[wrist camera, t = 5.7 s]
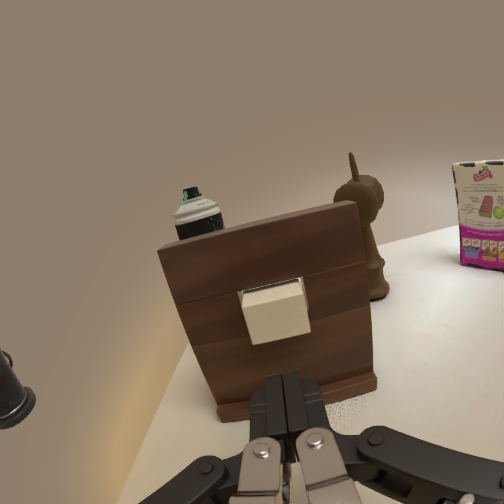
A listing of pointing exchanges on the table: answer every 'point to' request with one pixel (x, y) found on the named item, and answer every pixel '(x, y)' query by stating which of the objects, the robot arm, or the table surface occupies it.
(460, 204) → the candy bar box
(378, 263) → the kendama
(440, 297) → the table surface
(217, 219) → the spray can
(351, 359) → the wall plate
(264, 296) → the switch paddle
